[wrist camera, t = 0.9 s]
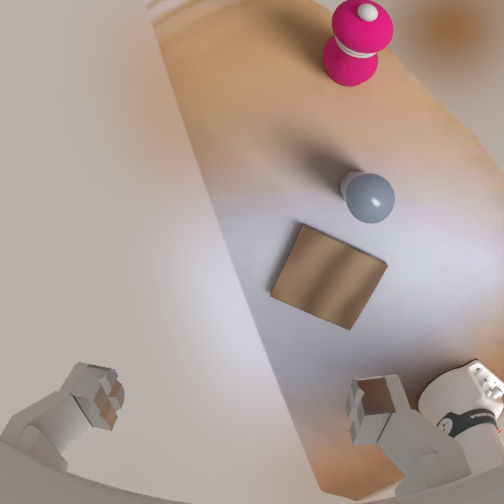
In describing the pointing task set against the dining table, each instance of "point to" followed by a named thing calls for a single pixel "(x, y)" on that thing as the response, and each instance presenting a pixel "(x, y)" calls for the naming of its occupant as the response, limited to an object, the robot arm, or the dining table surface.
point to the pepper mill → (356, 41)
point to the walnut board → (327, 277)
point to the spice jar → (367, 196)
